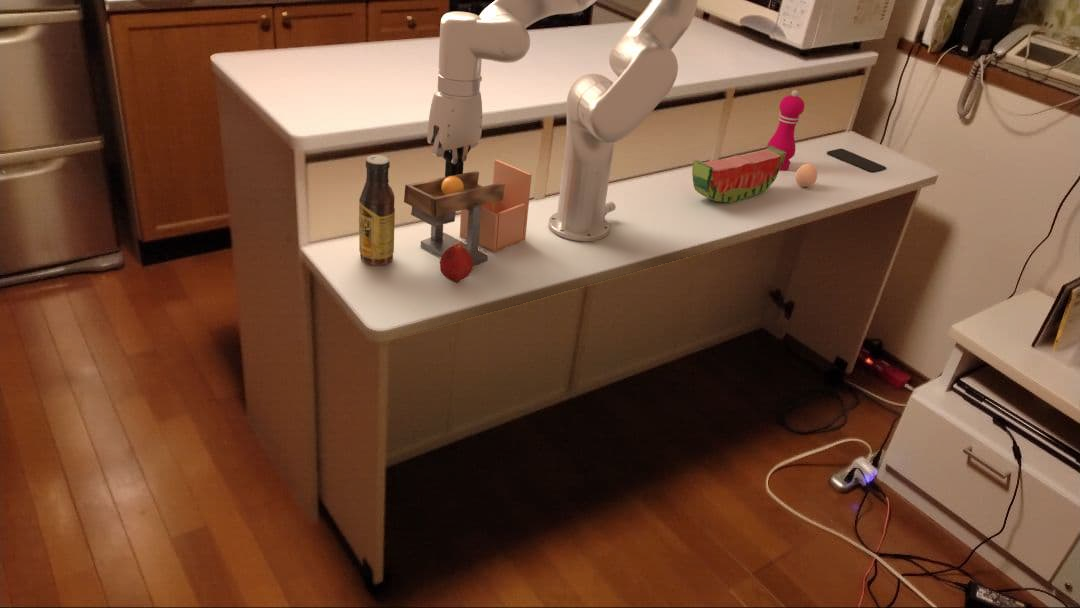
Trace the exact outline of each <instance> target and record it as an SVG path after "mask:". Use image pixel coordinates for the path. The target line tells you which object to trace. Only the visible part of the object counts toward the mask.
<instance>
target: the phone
mask: <svg viewBox="0 0 1080 608" xmlns="http://www.w3.org/2000/svg"><path fill="white" fill-rule="evenodd" d="M826 155H827V156H830V157H832V158H835V159H838V160H840V161H841V162H845V163H847V164H849V165H850V166H852V167H855V168H859V169H861V170H863V171H865V172H868V173H878V172H881V171H885V170H886V169H887V167H886V166H884V165H883V164H881V163H877V162H876V161H873V160H870V159H868V158H866V157H864V156H861V155H859V154H856V153H854V152H851V151H849V150H847V149H844V148H835V149H832V150H828V151H827V152H826Z"/></svg>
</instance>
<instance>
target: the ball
mask: <svg viewBox="0 0 1080 608" xmlns="http://www.w3.org/2000/svg"><path fill="white" fill-rule="evenodd" d="M441 189H442V192H443V194H444V195H448V194H452V193H457V192H461V191H463V189H464V186H463V182H462V181H461V180H460V179H459V178H458V177H455V176H450V177H447V178H446V179H444V181H443V182H442V186H441Z"/></svg>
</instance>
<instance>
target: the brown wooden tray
mask: <svg viewBox="0 0 1080 608" xmlns="http://www.w3.org/2000/svg"><path fill="white" fill-rule="evenodd" d="M453 176H455V177H458V178H459V179H460V180H461V181H462V182H463V186H464V189H463V191H461V192H457V193H452V194H448V195H444V194H443V192H442V189H441V186H442V182H443V181H444V179H446V178H447V177H445V176H444V177H438V178H434V179H429V180H423V181H419V182H414V183H409V184H405V186H404V196H403V198H404V199H403V203H405V204H407V205H409V206H410V207H411V211H410V212H411V214H410V215H411V216H412V217H414V218H416V219H419V220H420V221H422V222H424V223H426V224H429V226H431V225H432V226H434V227H435V226H439V225H443V226H444V225H447V224H450V223H454V222H455V219H456V214H457V213H456V212H459V211H460V212H461V210H464V209H466V210H468V211H469V206H470V205H473V204H475V203H478V204H480V205H484V204H488V203H492V202H496V201H500V200H503V196H504V189H505V183H497V184H493V183H492V184H489V185H485V186H483V185H481V184H479V177H480V172H479V171H478V170H474V171H469V172H463V174H458V175H453ZM448 177H450V176H448Z"/></svg>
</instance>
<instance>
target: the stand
mask: <svg viewBox="0 0 1080 608" xmlns="http://www.w3.org/2000/svg"><path fill="white" fill-rule="evenodd" d="M480 221H481V205H480V204H478V203H475V204H473V205H470V206H469V212H468V230H467V240H466V243H465V242H464V241H462V240H459V239H457V238H455V237H453V236H452V235H449V234H447V233H446V232H444V224H443V225H439V226H435V227H434V226H432V225H430V237H428V238H426V239H423V240H421V241H420V247H421V248H422V249H424V250H426V251H428V252H430V253H431V254H433V255H435V256H437V257H439V258H440V259H441V256H442V255H443V253H444V252H445V251H446V250H447V249H448V248H450V247H452V246H454V245H455V243H457V242H461V244H462V247H463V248H464V249H466V250H467V251H468V252H469V253H470V255H471V257H472V260H473V268H474V267H476V266H479V265H481V264H483V263H486V262H488V258H489V255H488V254H487V253H485V252H482V251H480V250H479V249H480V248H479V247H480V246H479V236H480Z"/></svg>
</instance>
